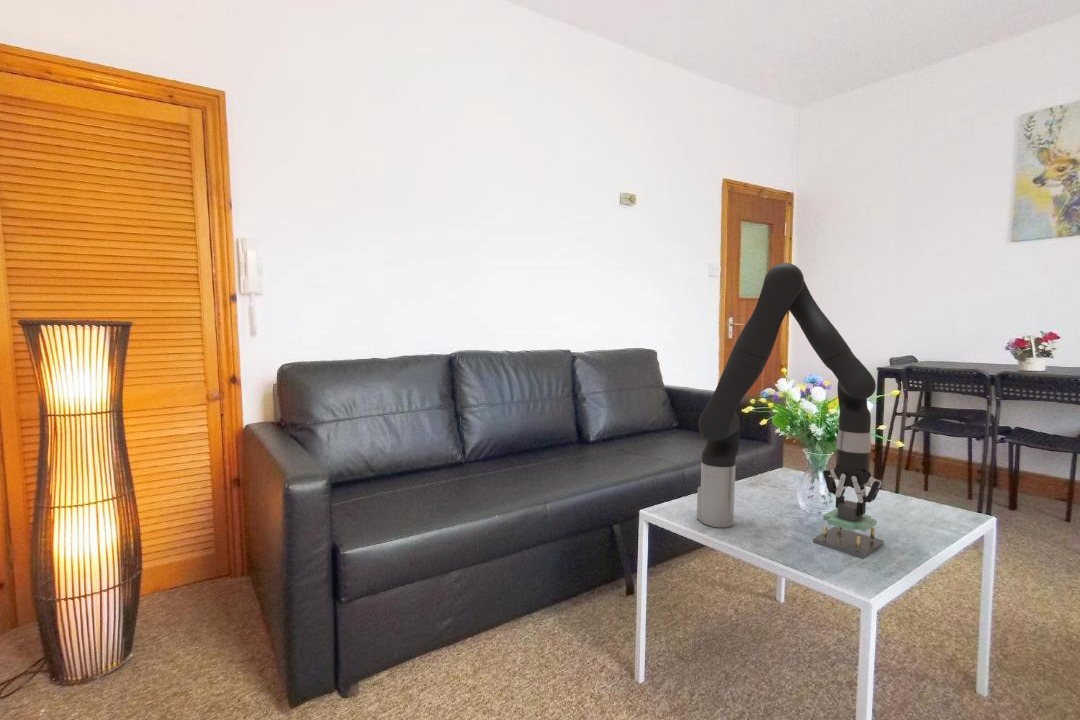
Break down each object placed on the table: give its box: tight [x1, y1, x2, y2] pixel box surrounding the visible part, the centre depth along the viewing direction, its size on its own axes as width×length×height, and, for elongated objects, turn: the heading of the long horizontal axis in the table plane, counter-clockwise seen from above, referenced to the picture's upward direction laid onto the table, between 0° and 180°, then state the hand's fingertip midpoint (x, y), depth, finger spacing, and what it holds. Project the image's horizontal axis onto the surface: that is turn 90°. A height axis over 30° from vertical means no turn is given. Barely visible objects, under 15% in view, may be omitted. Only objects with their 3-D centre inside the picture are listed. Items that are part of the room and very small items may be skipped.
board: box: [823, 499, 877, 532], centre depth 141 cm, size 10×11×5 cm
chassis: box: [812, 525, 885, 559], centre depth 142 cm, size 12×13×4 cm
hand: (850, 513), depth 141 cm, fingers closed on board, 4 cm apart
